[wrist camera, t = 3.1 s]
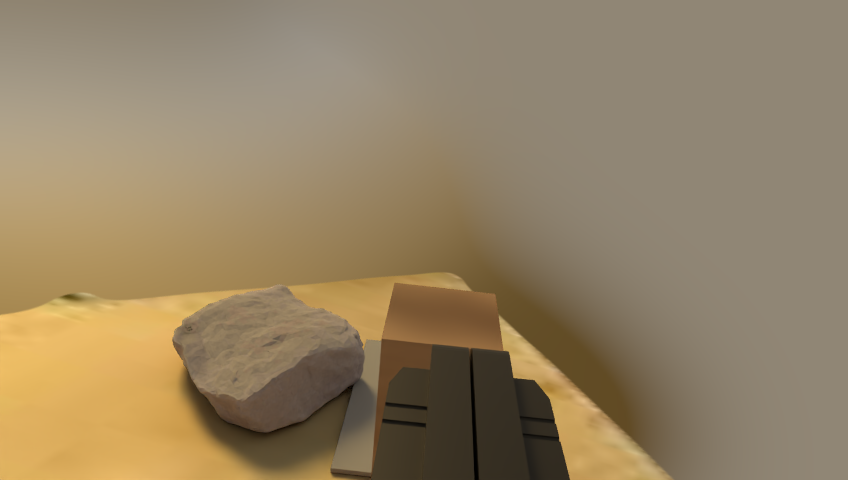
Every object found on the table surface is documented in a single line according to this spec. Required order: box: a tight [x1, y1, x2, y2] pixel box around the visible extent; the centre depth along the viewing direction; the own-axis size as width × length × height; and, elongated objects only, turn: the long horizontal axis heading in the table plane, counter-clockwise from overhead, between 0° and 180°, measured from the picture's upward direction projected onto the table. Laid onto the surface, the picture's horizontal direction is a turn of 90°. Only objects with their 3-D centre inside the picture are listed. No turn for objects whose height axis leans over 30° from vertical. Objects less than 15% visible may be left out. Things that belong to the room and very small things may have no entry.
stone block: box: [172, 285, 365, 432], centre depth 37 cm, size 12×5×10 cm
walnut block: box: [371, 283, 503, 476], centre depth 24 cm, size 4×4×13 cm
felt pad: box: [331, 340, 381, 477], centre depth 36 cm, size 13×10×1 cm
